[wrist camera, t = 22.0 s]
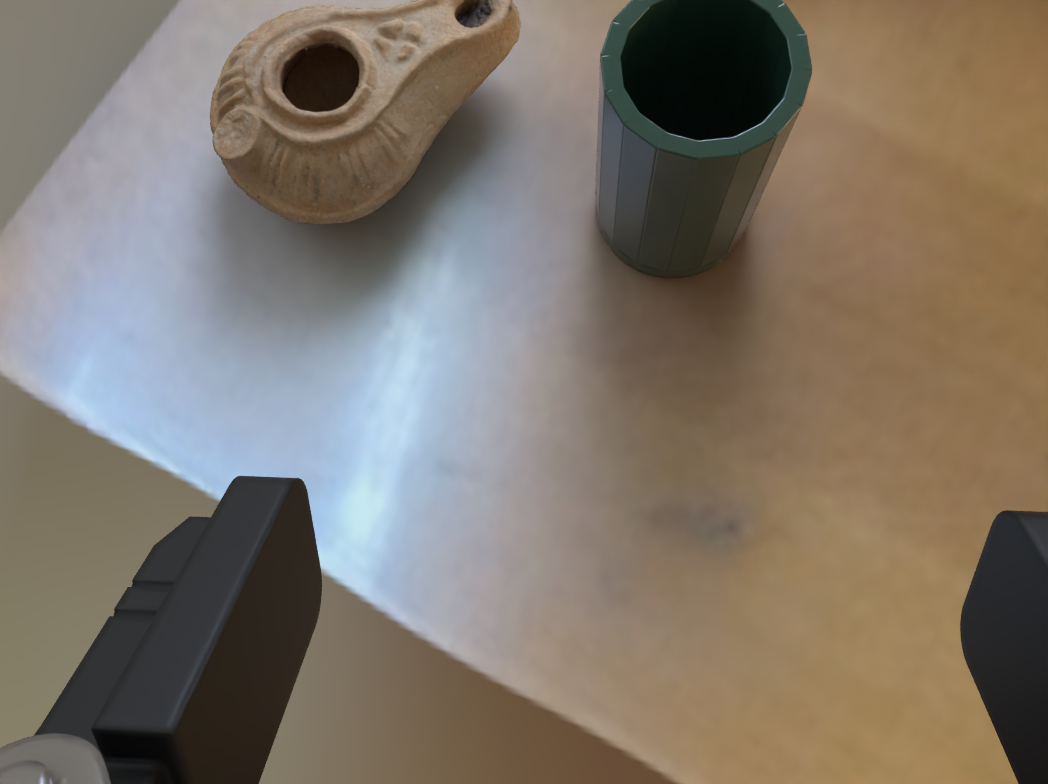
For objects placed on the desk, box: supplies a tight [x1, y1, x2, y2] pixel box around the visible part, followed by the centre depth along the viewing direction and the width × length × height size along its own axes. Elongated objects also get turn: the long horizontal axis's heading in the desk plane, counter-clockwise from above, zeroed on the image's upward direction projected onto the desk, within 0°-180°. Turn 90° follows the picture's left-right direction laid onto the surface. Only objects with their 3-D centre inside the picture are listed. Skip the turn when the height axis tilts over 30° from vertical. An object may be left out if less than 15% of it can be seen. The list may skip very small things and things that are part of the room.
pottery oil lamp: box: [210, 0, 520, 224], centre depth 34 cm, size 9×12×7 cm
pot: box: [595, 0, 812, 278], centre depth 31 cm, size 6×6×10 cm
